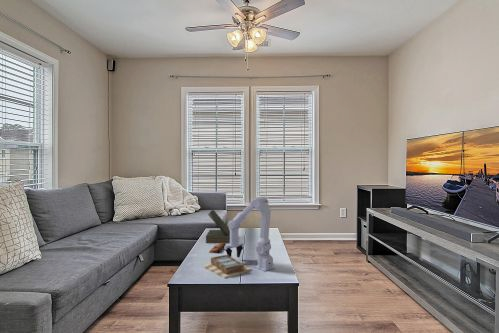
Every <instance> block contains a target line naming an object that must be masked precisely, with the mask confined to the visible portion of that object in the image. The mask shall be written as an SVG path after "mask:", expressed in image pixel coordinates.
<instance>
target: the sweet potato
mask: <svg viewBox="0 0 499 333" xmlns="http://www.w3.org/2000/svg"><path fill="white" fill-rule="evenodd" d="M224 246H227V243H224V242H222V243H216V245H214V246H213V247H212V248H211V249H210V250H209V252H208V253H209V254H220V253H221V251H222V250H223V249H224Z"/></svg>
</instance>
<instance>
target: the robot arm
mask: <svg viewBox="0 0 499 333" xmlns="http://www.w3.org/2000/svg"><path fill="white" fill-rule="evenodd" d="M254 209H256V210H257V211H258V212H260V213H261V219H260V220H261V221H260V230H259V231H260V233H259V239H258V241H257V245H256V246H255V252H256V253H257V265H255V266H254V267H255V268H256V269H259V270H261V271H263V272H267V271H269V270H273V269H274V257H273V256H272V255H271V254H270V250H271V249H272V245H271V239H270V238H269V236H270V222H271V212H272V210H271V208H270V204H269V200H268V199H267V198H266V197H265V196H260V197H255V198H253V199H252V200H250V203H248V205H247V206H246V207H245V208H244V209H243V211H240V212H237V213H236V216H235V217H233V218H232V220H229V221H228V224H227V226H228V228H229V230H230V243H228V244H226V246H224V248H223V249H224V250H225V252H226V255H229V256H230V257H232V253H233V249H234V248H236V250H235V251H236V258H240V257H241V253H242V251H243V249H244V242H239V230H240V227H241V224H242V223H243V222H244V221H245V220H246V219H247V215H248V214H249V213H251V212H252V211H253V210H254Z"/></svg>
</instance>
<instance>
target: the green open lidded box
mask: <svg viewBox="0 0 499 333" xmlns="http://www.w3.org/2000/svg"><path fill="white" fill-rule="evenodd" d="M207 215H208V217H209V218H210V219H211V220H212V221H213V223H214V224H215V225H216V226H217V227H218V228H219V229H209V230H208V232H207V233H206V235H205V244H219V243H222V242H224V243H225V244H230V228H229V227H228V224H226V222H224V221H223V219H222V218H221V216H219V214H218V213H217V212H216V211H215V209H211V211H210V212H209V213H208V214H207Z"/></svg>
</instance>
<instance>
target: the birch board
mask: <svg viewBox="0 0 499 333" xmlns="http://www.w3.org/2000/svg"><path fill="white" fill-rule="evenodd" d="M202 267H203V268H204V269H206V270H208V271H210V272H212V273H214V274H216V276H219V277H221V278H223V279H227V278H230V277H231V278H232V277H234V276H237V275H241V274H244V273H248V272H250V271H252V268H250V267H248V266H246V265H244V271H239V272H234V273H230V274H225V273H224V272H222V271H221V270H220V269H218V268H217V267H215V266H214V265H213V264H211V262H210V263H206V264H203V265H202Z"/></svg>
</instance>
